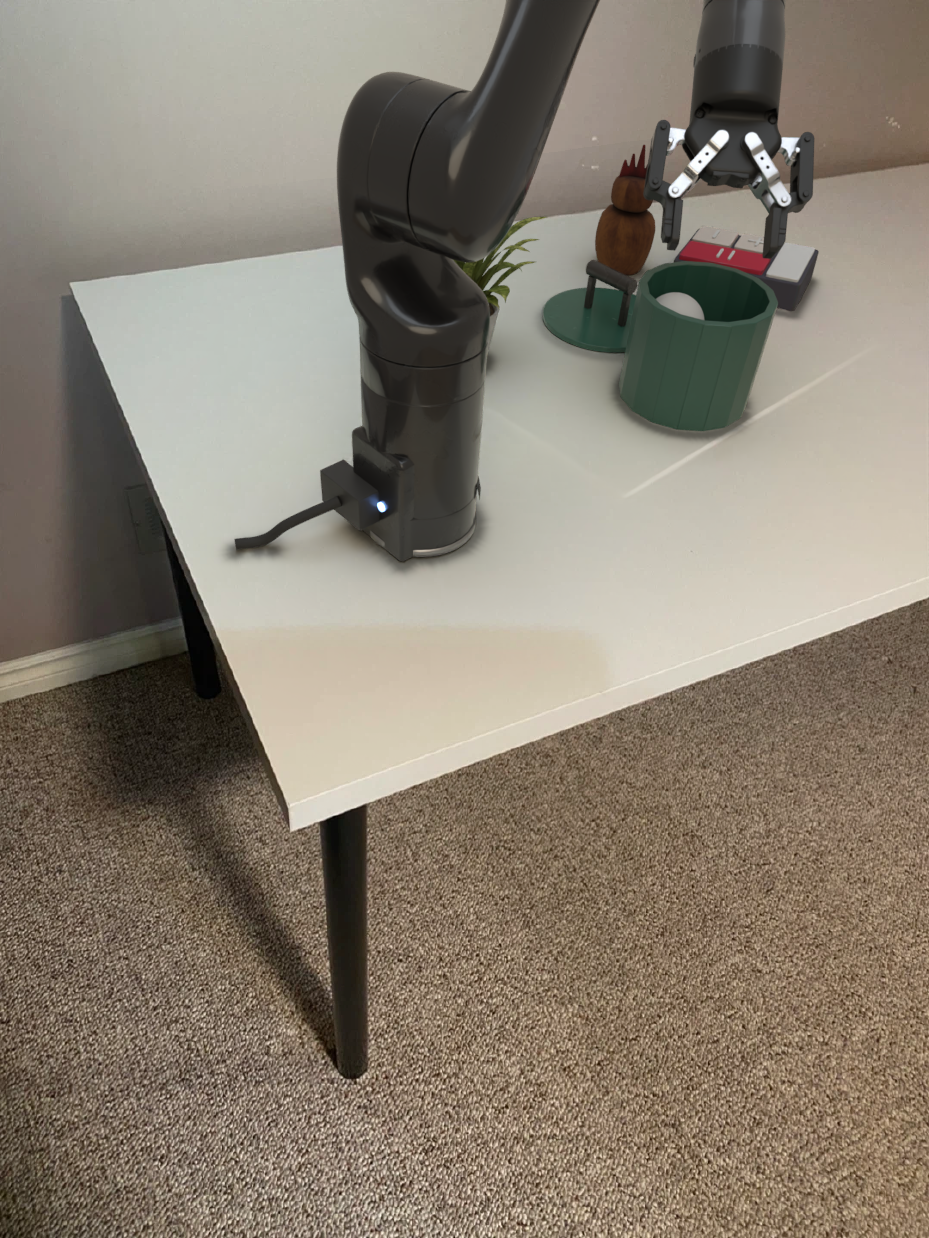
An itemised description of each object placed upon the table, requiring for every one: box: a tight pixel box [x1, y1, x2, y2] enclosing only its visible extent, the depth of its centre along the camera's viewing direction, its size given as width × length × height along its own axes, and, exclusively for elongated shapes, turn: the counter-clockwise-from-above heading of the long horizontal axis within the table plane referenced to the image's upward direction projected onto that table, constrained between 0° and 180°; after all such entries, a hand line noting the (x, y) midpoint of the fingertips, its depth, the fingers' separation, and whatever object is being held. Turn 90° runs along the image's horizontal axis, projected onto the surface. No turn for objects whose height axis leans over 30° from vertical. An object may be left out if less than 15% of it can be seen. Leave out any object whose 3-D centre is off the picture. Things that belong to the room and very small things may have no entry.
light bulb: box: [656, 292, 704, 320], centre depth 90 cm, size 6×6×10 cm
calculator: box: [673, 225, 820, 312], centre depth 111 cm, size 11×4×15 cm
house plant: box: [454, 216, 547, 357], centre depth 90 cm, size 14×14×16 cm
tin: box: [618, 261, 778, 432], centre depth 89 cm, size 13×13×12 cm
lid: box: [542, 259, 638, 354], centre depth 101 cm, size 14×14×6 cm
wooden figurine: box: [594, 144, 656, 276], centre depth 108 cm, size 7×6×15 cm
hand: (721, 251), depth 81 cm, fingers open, 8 cm apart
